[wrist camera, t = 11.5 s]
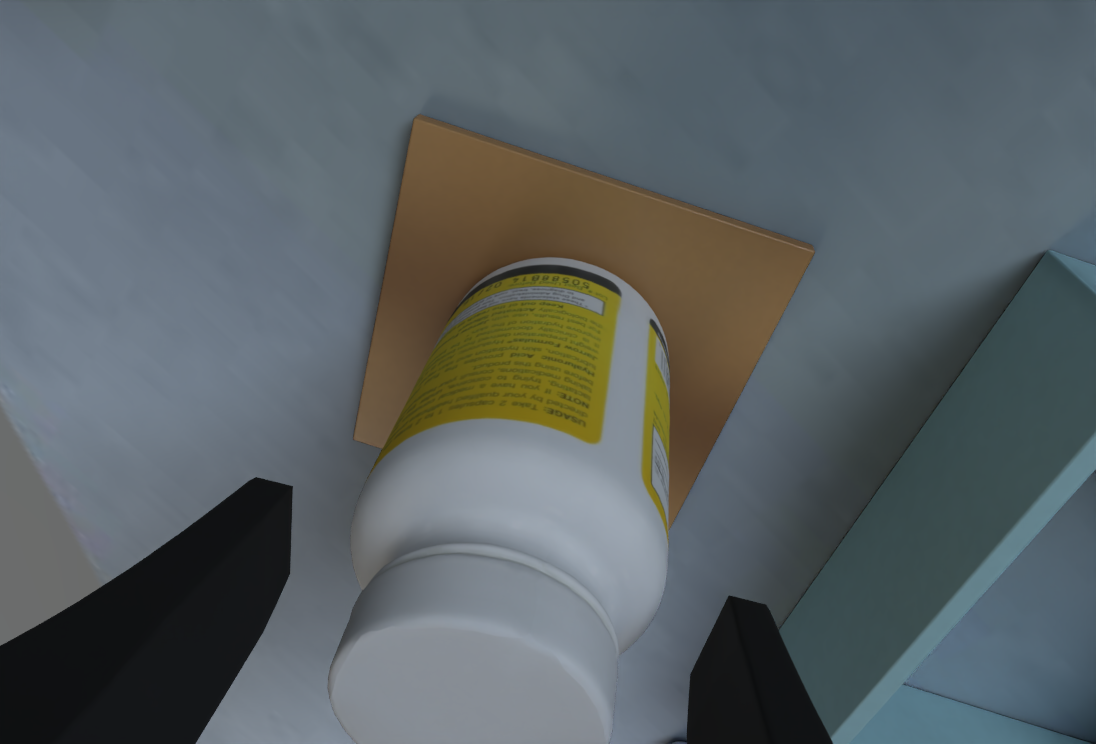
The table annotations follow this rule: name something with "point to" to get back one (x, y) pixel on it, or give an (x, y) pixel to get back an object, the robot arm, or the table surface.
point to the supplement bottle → (513, 520)
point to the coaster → (584, 235)
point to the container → (955, 523)
